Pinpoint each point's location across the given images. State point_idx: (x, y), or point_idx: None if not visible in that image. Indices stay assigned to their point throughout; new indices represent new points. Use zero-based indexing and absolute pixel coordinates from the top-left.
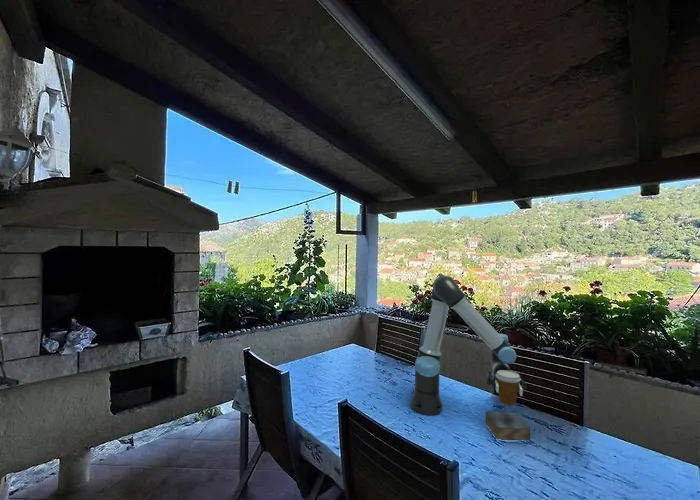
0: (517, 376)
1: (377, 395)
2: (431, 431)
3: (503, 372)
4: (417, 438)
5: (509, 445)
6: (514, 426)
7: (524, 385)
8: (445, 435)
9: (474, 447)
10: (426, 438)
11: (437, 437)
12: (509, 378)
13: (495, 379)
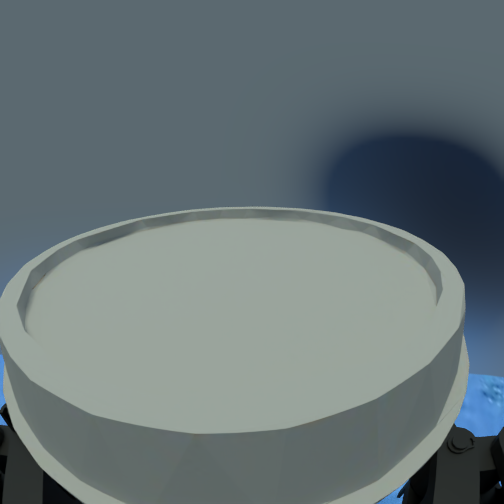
0: (115, 226)
1: None
2: (500, 420)
3: (325, 313)
4: (498, 378)
5: None
6: None
7: (9, 428)
8: (465, 427)
9: None
10: (487, 388)
11: (474, 407)
12: (242, 219)
13: (439, 478)
